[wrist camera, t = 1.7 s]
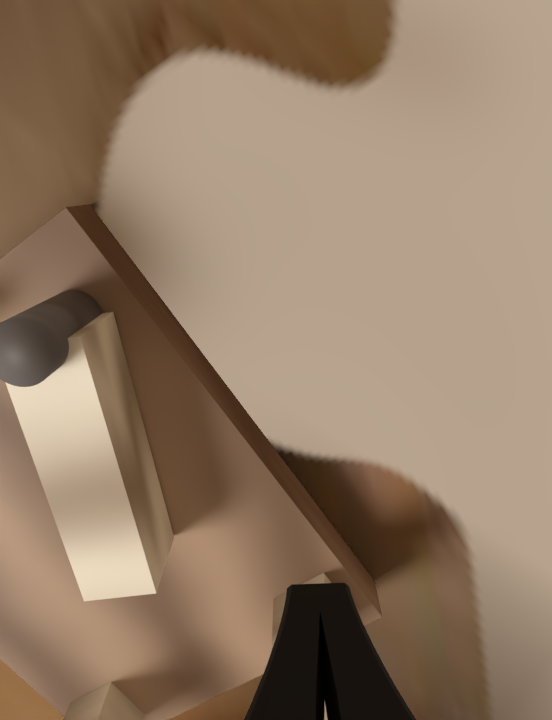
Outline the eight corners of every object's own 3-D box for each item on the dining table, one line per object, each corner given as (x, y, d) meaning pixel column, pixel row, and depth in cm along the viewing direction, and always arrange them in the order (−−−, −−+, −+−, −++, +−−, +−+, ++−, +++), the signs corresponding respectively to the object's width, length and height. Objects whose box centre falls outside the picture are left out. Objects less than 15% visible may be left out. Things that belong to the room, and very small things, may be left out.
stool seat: (116, 709, 26) (67, 859, 20) (-190, 421, 20) (-373, 512, 15) (374, 580, 23) (403, 714, 17) (89, 204, 17) (-5, 215, 12)
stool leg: (31, 296, 16) (-41, 328, 13) (105, 284, 16) (54, 313, 13) (111, 544, 20) (72, 626, 16) (174, 537, 19) (148, 617, 16)
